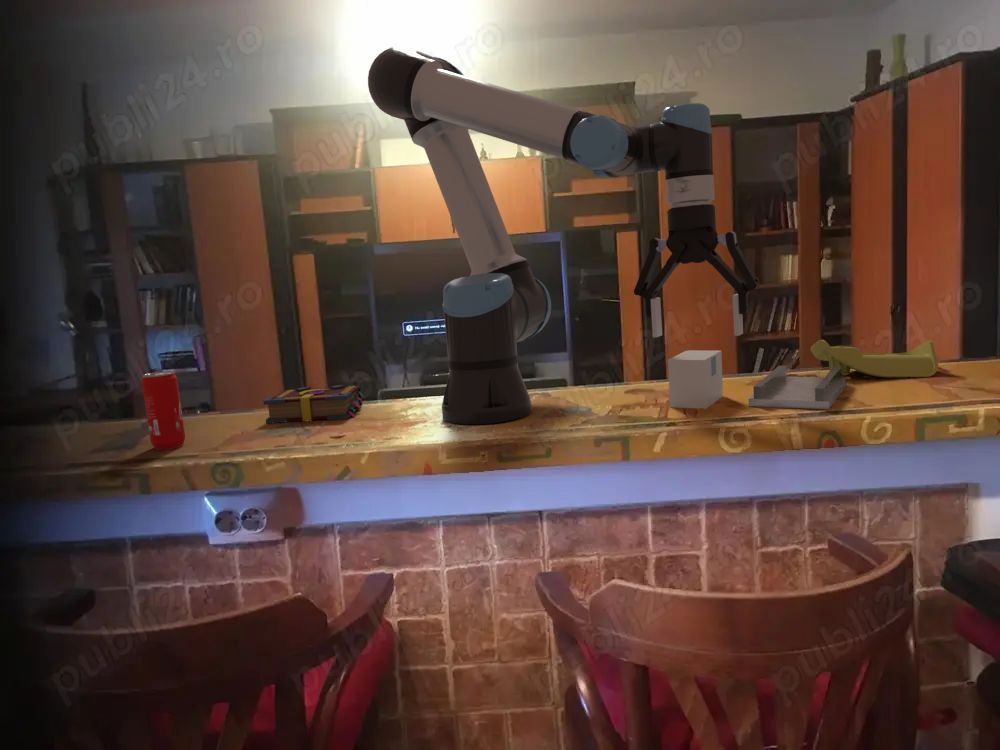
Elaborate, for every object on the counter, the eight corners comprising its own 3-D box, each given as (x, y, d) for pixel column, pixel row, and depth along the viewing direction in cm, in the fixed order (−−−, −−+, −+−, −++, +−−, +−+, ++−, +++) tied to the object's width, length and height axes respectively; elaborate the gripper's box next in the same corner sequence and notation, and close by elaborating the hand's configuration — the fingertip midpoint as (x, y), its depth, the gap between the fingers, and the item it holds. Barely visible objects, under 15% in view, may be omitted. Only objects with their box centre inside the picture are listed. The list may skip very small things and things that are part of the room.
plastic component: (909, 354, 149) (935, 336, 140) (914, 391, 147) (941, 376, 138) (803, 353, 150) (822, 336, 141) (807, 390, 148) (826, 375, 138)
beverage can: (155, 444, 129) (144, 373, 127) (188, 440, 131) (178, 369, 129) (149, 452, 124) (137, 377, 122) (183, 448, 126) (173, 374, 124)
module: (669, 407, 129) (667, 359, 128) (688, 395, 138) (686, 350, 137) (706, 409, 126) (704, 360, 125) (723, 396, 135) (721, 350, 133)
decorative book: (286, 411, 151) (283, 386, 150) (369, 407, 150) (367, 381, 149) (266, 425, 140) (262, 397, 139) (355, 420, 139) (352, 392, 138)
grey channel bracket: (748, 406, 126) (748, 386, 125) (775, 382, 143) (774, 365, 142) (829, 409, 120) (829, 388, 119) (846, 384, 137) (846, 366, 136)
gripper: (609, 212, 130) (617, 340, 133) (765, 196, 117) (770, 337, 121) (626, 212, 136) (634, 334, 140) (775, 196, 124) (780, 330, 127)
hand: (697, 335), depth 130 cm, fingers open, 13 cm apart
